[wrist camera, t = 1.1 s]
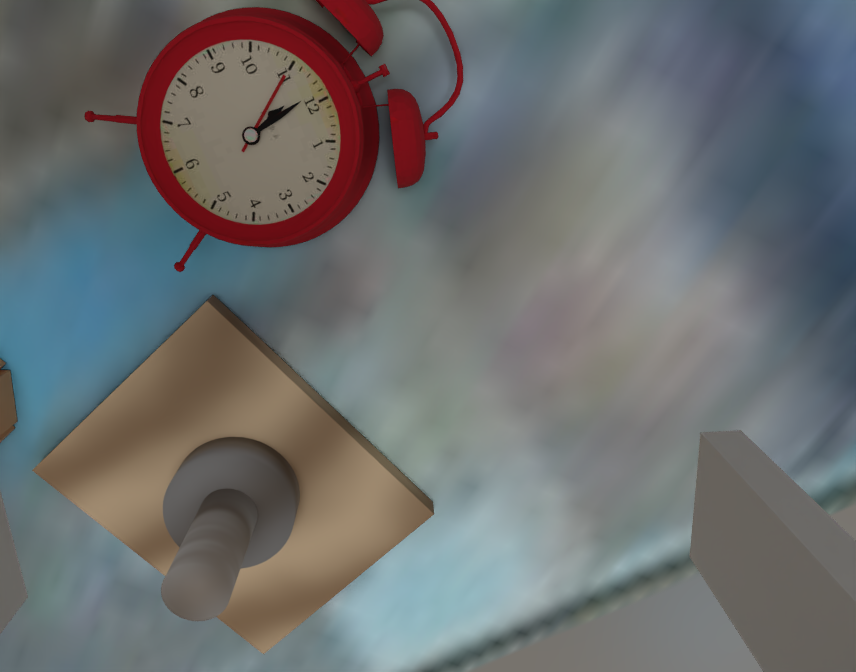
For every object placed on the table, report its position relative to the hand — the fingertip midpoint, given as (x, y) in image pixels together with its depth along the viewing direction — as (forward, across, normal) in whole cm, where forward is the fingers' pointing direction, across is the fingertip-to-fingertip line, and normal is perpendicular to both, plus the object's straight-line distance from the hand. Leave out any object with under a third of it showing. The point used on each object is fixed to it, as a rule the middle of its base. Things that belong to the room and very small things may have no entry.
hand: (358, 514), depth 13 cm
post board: (+22, -8, -12) cm, 26 cm away
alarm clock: (+23, -3, +7) cm, 24 cm away
